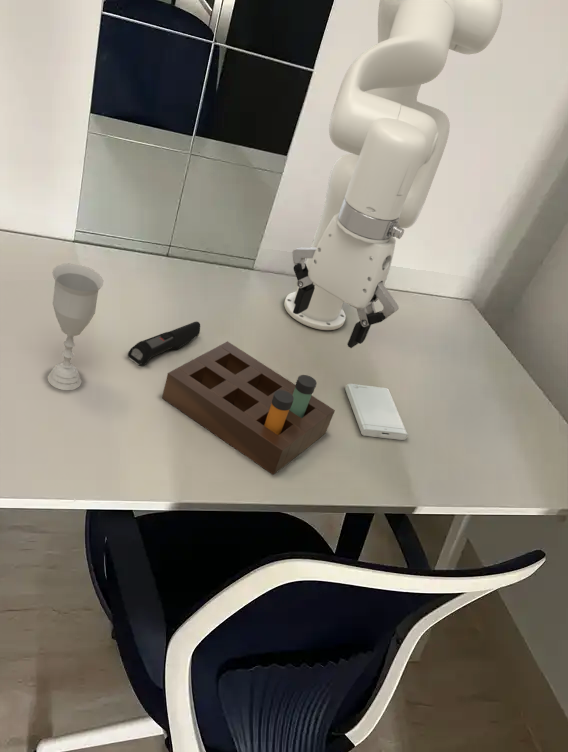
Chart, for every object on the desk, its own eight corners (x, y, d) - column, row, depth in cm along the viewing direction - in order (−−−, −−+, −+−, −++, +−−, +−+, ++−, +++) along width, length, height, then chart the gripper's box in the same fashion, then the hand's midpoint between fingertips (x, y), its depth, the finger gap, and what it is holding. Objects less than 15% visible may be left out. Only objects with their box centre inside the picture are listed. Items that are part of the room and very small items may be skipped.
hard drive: (347, 382, 140) (364, 428, 131) (389, 388, 142) (409, 433, 133) (344, 390, 141) (361, 435, 132) (386, 395, 143) (405, 440, 134)
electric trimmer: (203, 341, 140) (207, 326, 138) (141, 368, 129) (145, 352, 127) (187, 331, 141) (191, 315, 139) (125, 356, 130) (128, 340, 128)
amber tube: (263, 437, 124) (281, 387, 118) (279, 447, 124) (297, 397, 117) (253, 445, 122) (270, 394, 116) (268, 455, 121) (286, 405, 115)
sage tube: (286, 421, 129) (304, 372, 123) (301, 431, 128) (320, 382, 122) (276, 428, 127) (294, 379, 121) (291, 438, 126) (310, 389, 120)
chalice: (97, 387, 122) (113, 285, 111) (60, 399, 118) (73, 295, 106) (68, 361, 125) (81, 259, 114) (31, 372, 121) (41, 268, 109)
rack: (220, 365, 136) (227, 341, 133) (325, 433, 130) (335, 410, 126) (161, 398, 125) (167, 372, 122) (273, 475, 118) (282, 450, 115)
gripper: (434, 243, 104) (387, 349, 115) (328, 184, 109) (292, 291, 120) (410, 257, 99) (363, 366, 110) (299, 195, 104) (265, 305, 115)
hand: (326, 327), depth 115 cm, fingers open, 9 cm apart
